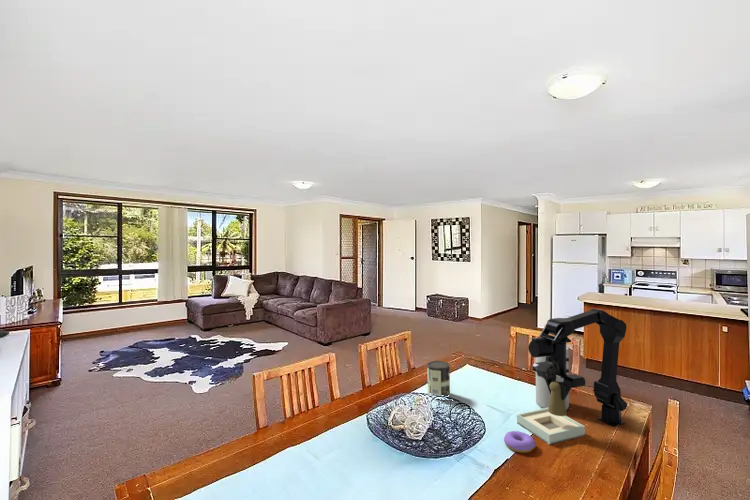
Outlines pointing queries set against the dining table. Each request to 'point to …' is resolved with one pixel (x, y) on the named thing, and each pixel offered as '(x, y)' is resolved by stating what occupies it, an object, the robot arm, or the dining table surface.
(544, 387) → the cylinder vase
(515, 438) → the donut
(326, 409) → the dining table surface
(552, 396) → the pepper shaker
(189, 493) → the dining table surface
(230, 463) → the dining table surface
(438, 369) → the coffee can
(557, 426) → the square tray
